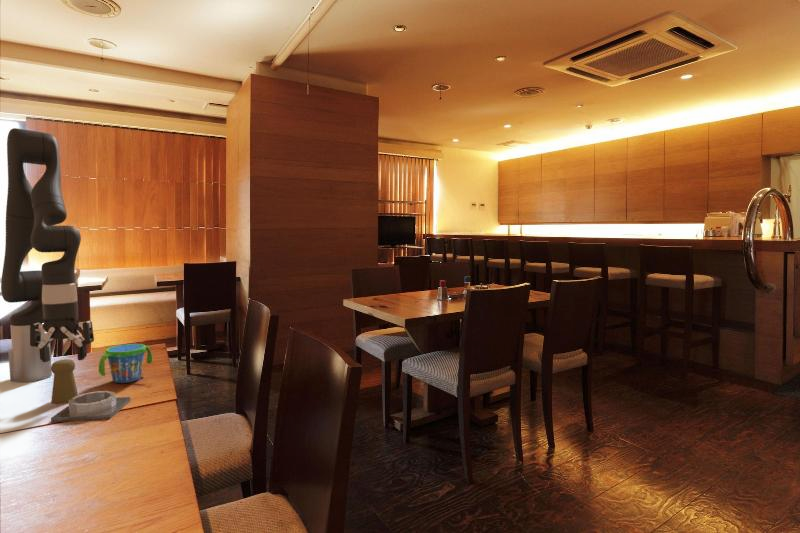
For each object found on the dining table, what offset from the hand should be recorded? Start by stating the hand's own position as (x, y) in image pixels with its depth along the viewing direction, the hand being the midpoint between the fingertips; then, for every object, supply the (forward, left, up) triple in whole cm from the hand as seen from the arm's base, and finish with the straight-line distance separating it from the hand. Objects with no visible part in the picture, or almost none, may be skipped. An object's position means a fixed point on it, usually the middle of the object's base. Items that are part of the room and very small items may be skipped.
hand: (63, 360), depth 123 cm
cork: (0, 0, -11) cm, 11 cm away
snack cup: (+9, +16, -11) cm, 21 cm away
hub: (+11, -9, -11) cm, 18 cm away
